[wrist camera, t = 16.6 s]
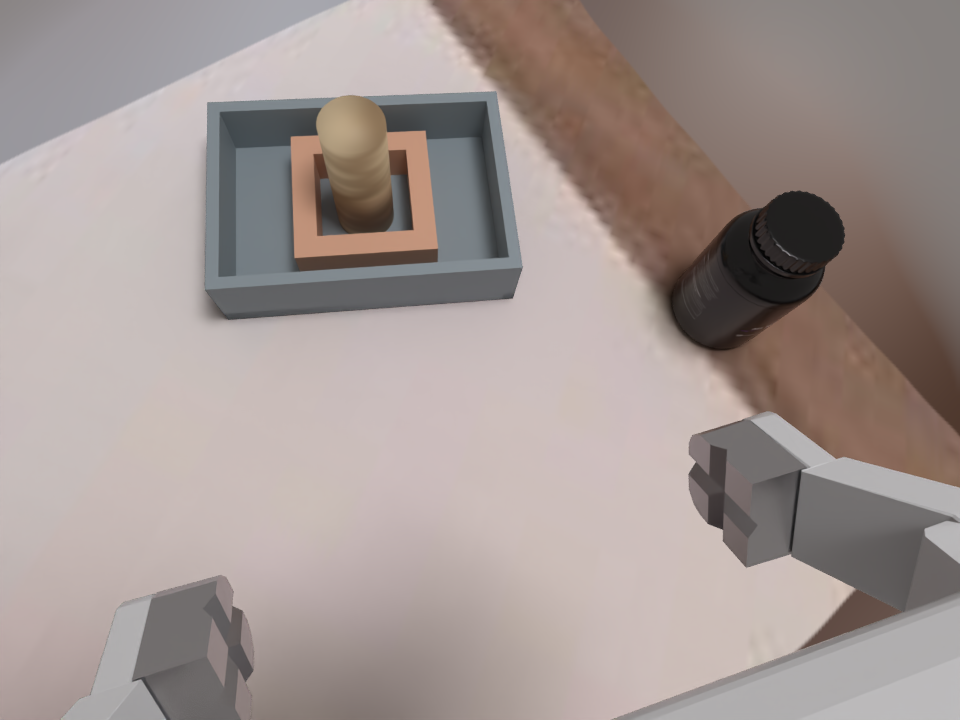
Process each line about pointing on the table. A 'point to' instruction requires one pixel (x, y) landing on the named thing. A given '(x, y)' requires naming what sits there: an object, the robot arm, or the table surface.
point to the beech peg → (357, 163)
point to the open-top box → (314, 220)
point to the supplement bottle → (758, 269)
